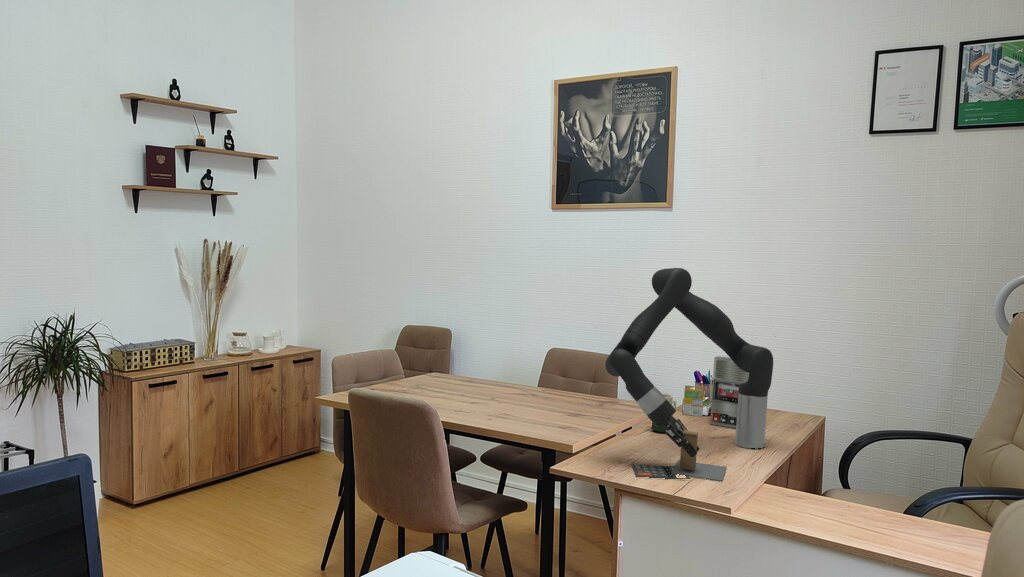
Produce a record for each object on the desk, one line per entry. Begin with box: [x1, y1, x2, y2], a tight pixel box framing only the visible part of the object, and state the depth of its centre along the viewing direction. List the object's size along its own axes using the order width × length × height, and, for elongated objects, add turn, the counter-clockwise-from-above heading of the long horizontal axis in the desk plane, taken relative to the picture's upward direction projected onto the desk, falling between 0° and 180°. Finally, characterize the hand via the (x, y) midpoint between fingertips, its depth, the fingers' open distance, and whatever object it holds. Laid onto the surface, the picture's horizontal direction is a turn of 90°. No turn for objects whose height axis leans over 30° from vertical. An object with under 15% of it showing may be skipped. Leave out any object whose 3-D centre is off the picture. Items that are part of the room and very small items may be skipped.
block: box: [679, 430, 699, 470], centre depth 208 cm, size 4×4×10 cm
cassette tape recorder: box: [708, 355, 749, 429], centre depth 266 cm, size 14×6×25 cm, turn 55°
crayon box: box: [682, 385, 705, 417], centre depth 283 cm, size 7×3×12 cm, turn 77°
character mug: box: [650, 392, 677, 433], centre depth 254 cm, size 11×7×13 cm, turn 103°
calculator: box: [631, 463, 691, 480], centre depth 206 cm, size 12×1×15 cm
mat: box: [671, 459, 727, 482], centre depth 209 cm, size 14×14×1 cm
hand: (695, 453), depth 207 cm, fingers closed on block, 4 cm apart
